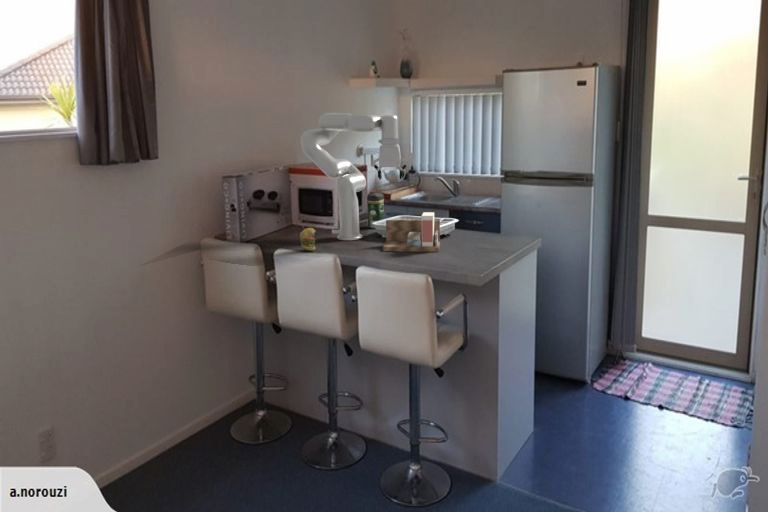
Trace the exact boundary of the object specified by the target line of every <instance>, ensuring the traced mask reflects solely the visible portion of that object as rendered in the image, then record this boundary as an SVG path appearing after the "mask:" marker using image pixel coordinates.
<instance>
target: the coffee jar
mask: <svg viewBox="0 0 768 512" xmlns="http://www.w3.org/2000/svg"><path fill="white" fill-rule="evenodd" d="M366 197H367V199H366V202H367V227H368V228H369V229H371V230H372V229H373V230H376V227H375V225H373V224H372V223H373V222H376V221H380V220H383V219H385V208H384V207H385V206H384V205H385V204H384V201H385V197H384V194H383V193H382V192H373V193H371V194H368V195H367V196H366Z"/></svg>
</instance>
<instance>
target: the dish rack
mask: <svg viewBox="0 0 768 512" xmlns="http://www.w3.org/2000/svg"><path fill="white" fill-rule="evenodd" d="M386 220H422V215H421V216H419V215H418V216H417V215H396V216H395V215H394V216H391V217H388V218H384V219H383V220H380V221H376V222H373V223H372V224H373V225H375V227H376V228H375V229H374V230H375V232H376V233H377V234H378V235H381V237H382V238H386ZM434 220H440V236H443V235H445V236H448V235H449V233H450V232H452V231H454V230H455V228H456V227H455V226H456V225H455V224H456V223H458V222H459V221H460V220H459V219H457V218H452V217H435V216H434ZM447 234H448V235H447Z"/></svg>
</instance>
